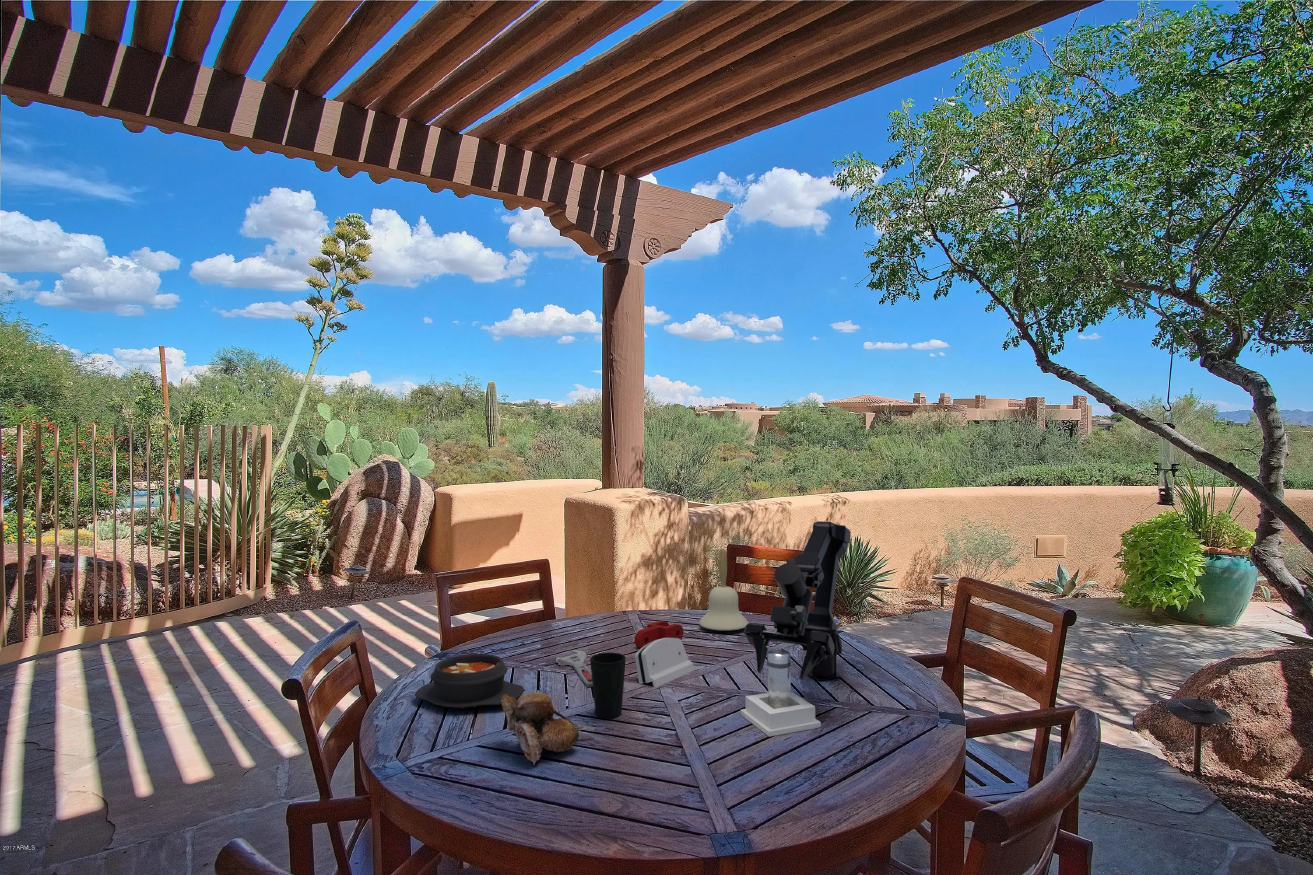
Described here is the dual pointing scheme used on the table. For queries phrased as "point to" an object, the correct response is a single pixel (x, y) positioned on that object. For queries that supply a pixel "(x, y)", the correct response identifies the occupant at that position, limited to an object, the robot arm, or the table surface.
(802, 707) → the white square hollow block
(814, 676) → the robot arm
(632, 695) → the table surface
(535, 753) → the seed pod
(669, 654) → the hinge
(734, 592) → the handbell
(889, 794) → the table surface
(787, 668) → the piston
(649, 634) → the mechanical linkage
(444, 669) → the casserole
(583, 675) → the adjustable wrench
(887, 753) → the table surface
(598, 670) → the cup
